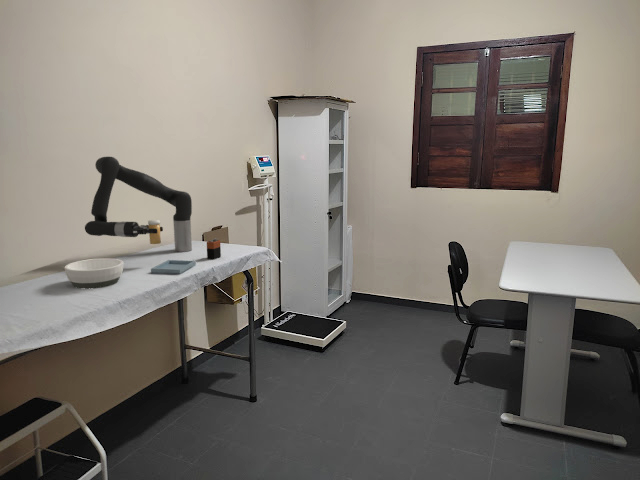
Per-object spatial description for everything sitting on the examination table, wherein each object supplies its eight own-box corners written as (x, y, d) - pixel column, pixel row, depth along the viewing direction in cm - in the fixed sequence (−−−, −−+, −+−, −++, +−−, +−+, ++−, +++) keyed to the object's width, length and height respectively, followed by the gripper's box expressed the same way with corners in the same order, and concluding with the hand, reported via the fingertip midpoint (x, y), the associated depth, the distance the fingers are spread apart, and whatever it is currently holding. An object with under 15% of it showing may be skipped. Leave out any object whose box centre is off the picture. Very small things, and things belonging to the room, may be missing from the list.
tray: (168, 264, 236) (168, 259, 236) (195, 265, 234) (195, 260, 234) (151, 273, 219) (150, 268, 219) (180, 274, 217) (179, 269, 217)
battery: (221, 257, 253) (220, 238, 251) (213, 259, 247) (213, 240, 245) (214, 256, 255) (213, 237, 253) (206, 259, 248) (206, 240, 246)
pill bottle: (152, 241, 235) (151, 219, 233) (163, 242, 235) (161, 220, 232) (147, 244, 230) (145, 221, 228) (158, 244, 229) (156, 221, 227)
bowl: (102, 292, 189) (101, 272, 188) (53, 289, 194) (51, 269, 192) (135, 278, 211) (134, 259, 210) (90, 275, 216) (88, 257, 214)
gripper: (118, 223, 225) (152, 224, 223) (134, 219, 239) (166, 220, 237) (119, 239, 227) (153, 240, 224) (135, 234, 241) (167, 235, 238)
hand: (159, 230), depth 231 cm, fingers closed on pill bottle, 5 cm apart
